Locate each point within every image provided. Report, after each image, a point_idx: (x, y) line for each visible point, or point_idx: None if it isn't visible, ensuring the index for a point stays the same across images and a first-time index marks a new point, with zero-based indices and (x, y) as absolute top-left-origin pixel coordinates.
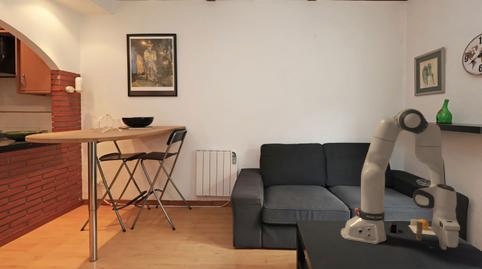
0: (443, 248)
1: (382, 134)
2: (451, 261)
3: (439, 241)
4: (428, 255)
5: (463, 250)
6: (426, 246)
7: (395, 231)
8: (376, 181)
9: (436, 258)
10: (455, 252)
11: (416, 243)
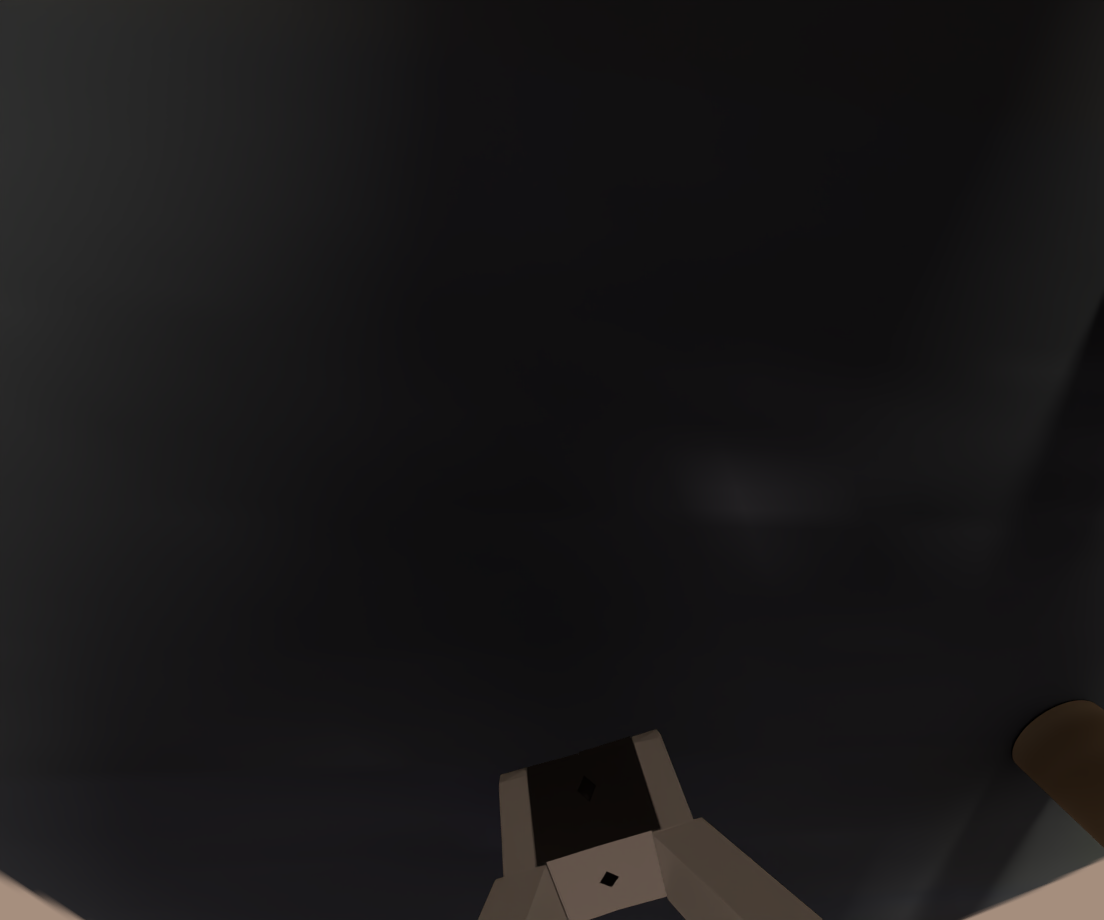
0: (510, 811)
1: None
2: (113, 826)
3: (724, 868)
4: (79, 432)
5: None
6: (746, 411)
7: None
8: None
9: (24, 604)
10: None
11: (897, 139)
